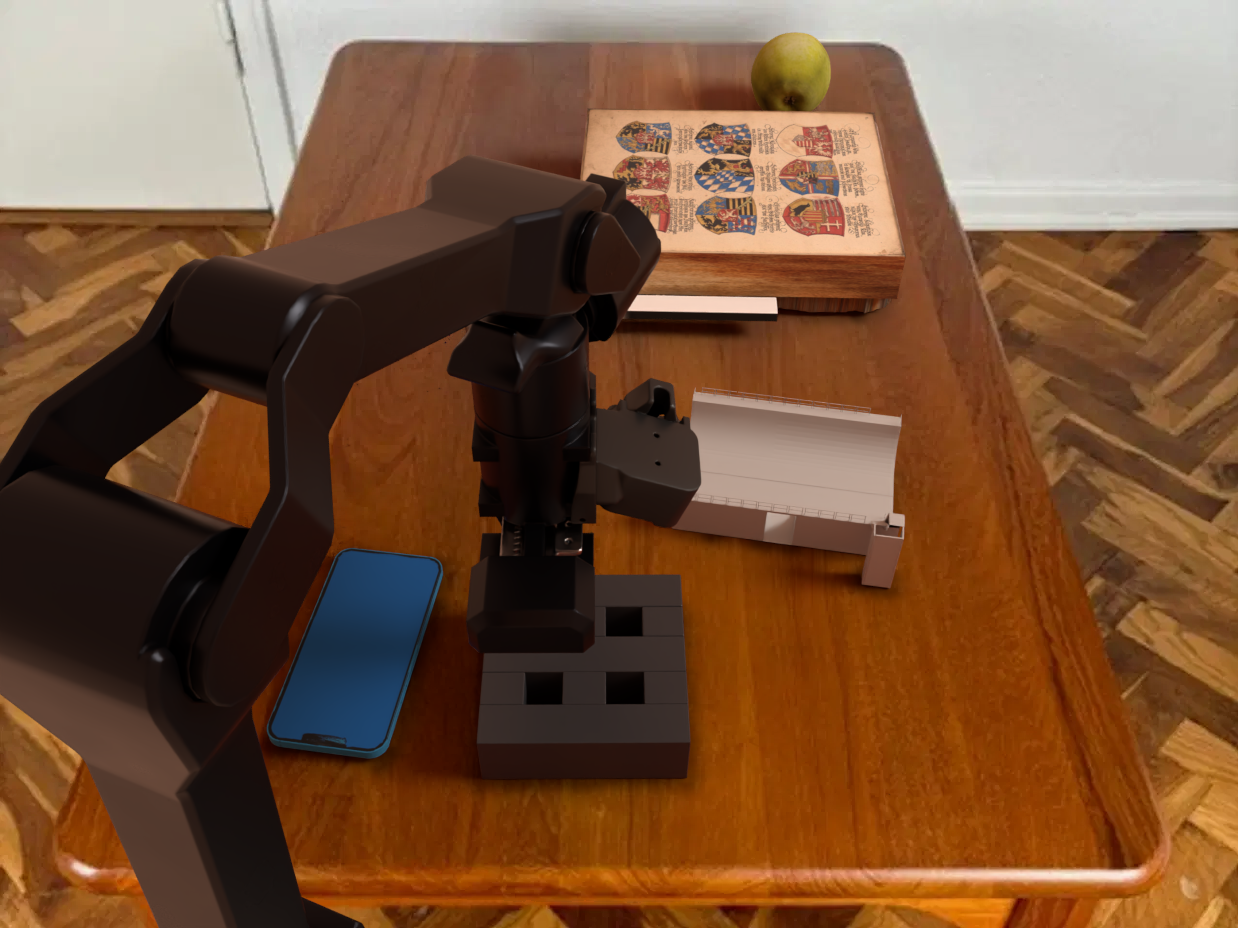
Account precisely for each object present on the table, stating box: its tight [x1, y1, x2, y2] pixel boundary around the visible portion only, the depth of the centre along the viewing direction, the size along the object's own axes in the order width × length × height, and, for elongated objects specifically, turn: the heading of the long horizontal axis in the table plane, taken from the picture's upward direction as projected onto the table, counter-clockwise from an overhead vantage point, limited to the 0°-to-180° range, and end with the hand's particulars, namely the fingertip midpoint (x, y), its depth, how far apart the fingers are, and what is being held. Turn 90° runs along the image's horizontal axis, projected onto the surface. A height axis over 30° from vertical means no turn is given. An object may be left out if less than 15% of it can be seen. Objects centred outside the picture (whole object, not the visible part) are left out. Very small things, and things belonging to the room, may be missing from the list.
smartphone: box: [266, 547, 444, 760], centre depth 75 cm, size 7×1×15 cm
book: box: [579, 107, 907, 323], centre depth 103 cm, size 25×6×28 cm
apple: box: [750, 32, 832, 112], centre depth 118 cm, size 8×9×8 cm
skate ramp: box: [671, 387, 906, 589], centre depth 82 cm, size 15×13×5 cm
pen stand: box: [476, 573, 691, 780], centre depth 72 cm, size 12×12×4 cm
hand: (543, 592), depth 70 cm, fingers closed
